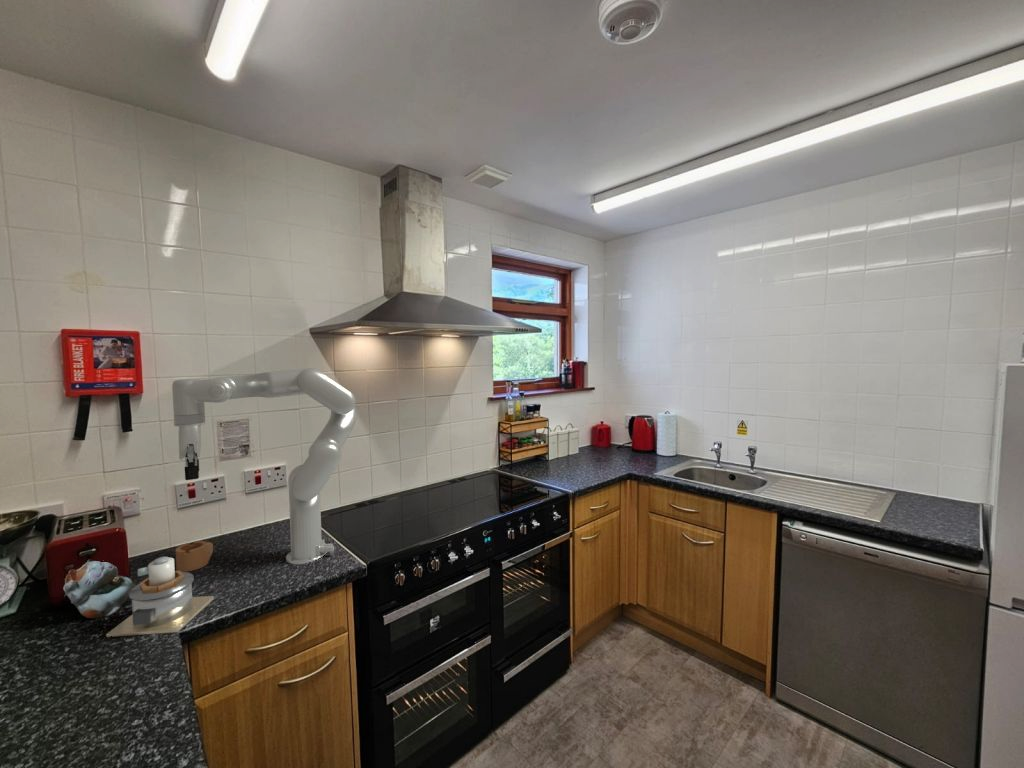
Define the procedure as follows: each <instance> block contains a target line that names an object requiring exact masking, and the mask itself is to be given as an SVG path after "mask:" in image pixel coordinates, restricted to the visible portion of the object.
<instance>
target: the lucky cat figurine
mask: <svg viewBox="0 0 1024 768" xmlns="http://www.w3.org/2000/svg"><path fill="white" fill-rule="evenodd" d="M86 561H87V562H84V563H83V564H82V566H81V567H79V568H77V569H70V570H68V574H66V576H65V578H64V585H63V591H64V593H65V595H66V597H68V599H69V600H70V603H71V604H73V605H74V606H75V607H76V609H77V610H78V611H79V613H80V614H81V615H82V616H83V617H85V618H86V619H98V618H101V617H109V616H110V615H112V614H114V613H116V612H117V611H118V610H119V609H120V608H121V607H122V605H124V604H125V603H126V602H127V601H129V600H131V599H130V598H129V592H130V590H131V589H132V588H133V587H135V584H134V582H133V580H132V579H131V578H130V577H127V576H124V575H119V570H118V567H117V566H115V565H114V564H113V563H112V564H111V563H109V562H100V561H101V560H100V561H97V560H92V559H89V558H88V560H86Z"/></svg>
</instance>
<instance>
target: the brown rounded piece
mask: <svg viewBox="0 0 1024 768" xmlns="http://www.w3.org/2000/svg"><path fill="white" fill-rule="evenodd" d="M213 544H214V543H212V542H209V541H205V540H198V541H194V542H193V544H190V542H187V543H184V544H181V545H179V546H177V547H176V548H175V566H176V567H175V569H176V571H181V572H187V573H188V572H190V571H191V572H192V571H195V570H199V569H202V568H204V567H205V566H206V565H208V564H209V561H210V559H211V557H212V554H213V552H214V545H213Z"/></svg>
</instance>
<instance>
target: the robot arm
mask: <svg viewBox="0 0 1024 768" xmlns="http://www.w3.org/2000/svg"><path fill="white" fill-rule="evenodd" d="M171 385H172V386H171V389H172V390H171V391H172V405H173V406H172V408H173V409H172V410H173V425H174V426H173V427H178V450H179V451H178V453H179V456H178V457H179V460H181V461H182V460H183V459H185V464H184V465H185V466H184V479H185V481H190V480H191V481H192V480H198V479H199V478H200V476H199V475H200V473H199V472H200V459H199V457H200V455H201V448H202V433H201V432H202V430H201V429H202V427H201V425H205V424H206V411H205V410H206V409H205V408H206V407H205V403H213V404H214V403H215V404H217V403H224V402H227V400H235V399H244V398H245V399H246V398H264V399H265V398H267V399H272V398H274V399H275V398H281V397H290V396H298V395H307V396H308V397H309V398H312V399H313V400H314V401H316V402H318V403H319V404H321V405H322V406H324V407H325V408H327V410H330V417H329V419H328V421H327V423H325V425H324V427H323V429H322V430H321V432H320V433H319V435H318V436H317V437H316V438H315V440H314V441H313V442H312V444H311V445H310V447H309V448H308V449H309V450H308V457H306V459H305V461H304V462H303V464H299V465H298V466H295V467H294V468H293V469H292V470H291V471H290V473H289V475H288V480H287V483H288V484H287V485H288V497H289V498H288V499H289V502H288V503H289V527H290V529H289V530H290V551H289V552H288V553H287V554H286V556H285V561H286V562H287V563H288V564H291V565H306V564H305V563H307V564H310V563H309V562H311V563H314V562H316V561H315V560H317V561H319V560H320V559H319V558H321V557H323V556H324V555H325V554H326V553H327V554H328V552H329V553H330V552H334V551H335V546H334V543H326V541H325V539H322V515H321V514H322V513H321V510H322V509H321V508H322V507H321V506H322V505H321V504H322V503H321V492H322V490H323V488H324V487H325V486H326V484H327V483H328V482H329V480H330V479H331V477H332V475H333V474H334V473H335V471H336V469H337V468H338V466H339V464H340V462H341V460H342V452H341V449H342V447H343V446H344V445H345V443H346V441H347V440H348V437H349V436H350V435H351V433H352V431H353V429H354V427H355V424H356V421H357V409H356V402H357V401H356V397H355V395H354V393H352V392H351V391H350V390H348V389H347V388H345V387H343V386H342V385H341V384H340V383H338V382H336V381H335V380H334V379H332V378H331V377H329V376H328V375H326V374H325V373H324V372H323V371H321V370H319V369H317V368H299V369H287V370H275V371H274V370H273V371H266V372H260V373H254V374H244V375H242V374H241V375H233V376H231V375H230V376H221V377H214V378H209V379H208V378H207V379H197V378H183V379H176V380H174V381H173V382H172V384H171ZM327 554H326V555H327ZM326 555H325V556H326ZM325 556H324V557H325ZM324 557H323V558H324ZM318 559H319V560H318ZM321 559H322V558H321ZM313 561H314V562H313Z"/></svg>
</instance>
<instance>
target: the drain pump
mask: <svg viewBox="0 0 1024 768" xmlns="http://www.w3.org/2000/svg"><path fill="white" fill-rule="evenodd" d="M175 569H176V567H175V558H173V557H168V556H160V557H157V558H155V559H154V560H153V561H151V562H150V563H149V564H148V565H147V566H145V567H141V568H137V577H142V576H146V575H148V577H149V586H159V585H162V584H165V583H168V582H171V581H173V580H174V579H175V571H176V570H175Z"/></svg>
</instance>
